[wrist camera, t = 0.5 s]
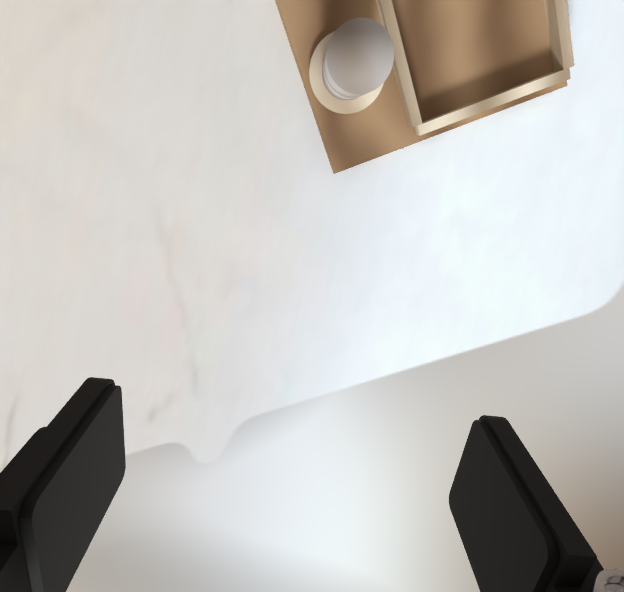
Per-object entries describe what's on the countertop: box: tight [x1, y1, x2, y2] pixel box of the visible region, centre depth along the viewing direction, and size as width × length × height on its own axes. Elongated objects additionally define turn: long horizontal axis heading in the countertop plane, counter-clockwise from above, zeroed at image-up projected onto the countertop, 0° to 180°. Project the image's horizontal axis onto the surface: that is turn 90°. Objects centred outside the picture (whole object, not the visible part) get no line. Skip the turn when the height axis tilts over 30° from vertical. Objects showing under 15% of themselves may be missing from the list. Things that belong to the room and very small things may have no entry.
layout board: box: [275, 0, 574, 174], centre depth 30 cm, size 20×14×11 cm
